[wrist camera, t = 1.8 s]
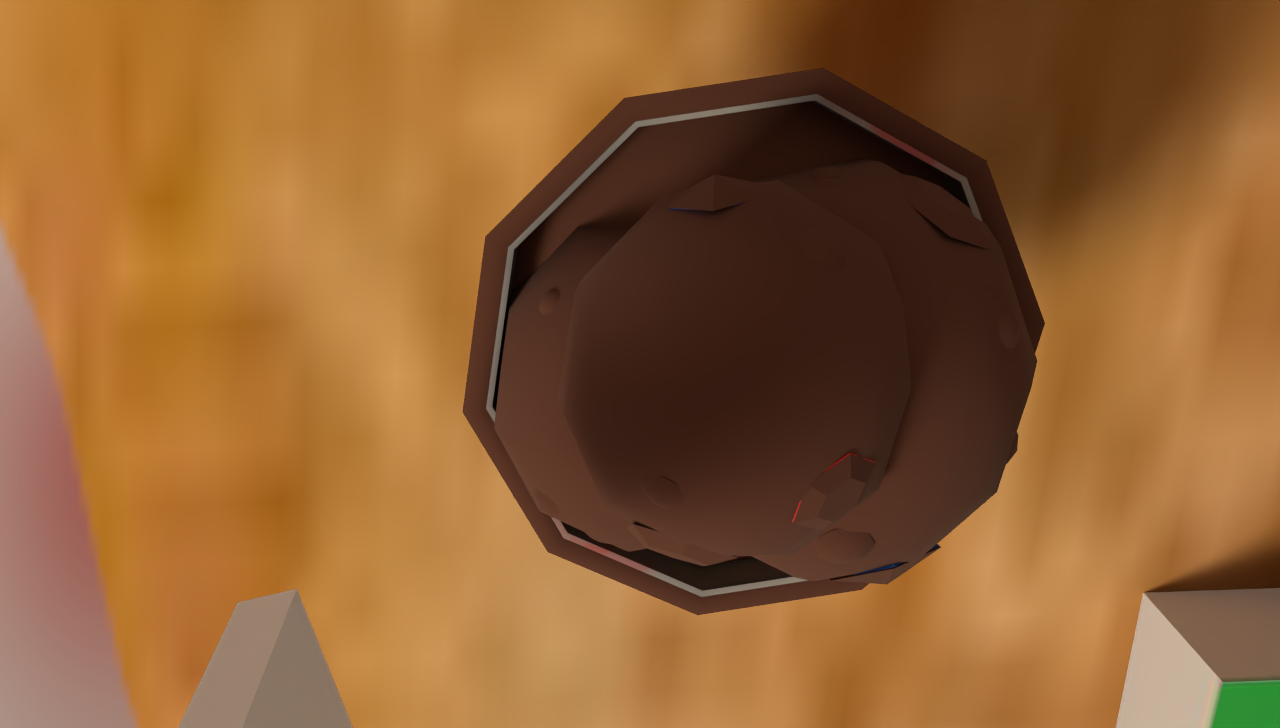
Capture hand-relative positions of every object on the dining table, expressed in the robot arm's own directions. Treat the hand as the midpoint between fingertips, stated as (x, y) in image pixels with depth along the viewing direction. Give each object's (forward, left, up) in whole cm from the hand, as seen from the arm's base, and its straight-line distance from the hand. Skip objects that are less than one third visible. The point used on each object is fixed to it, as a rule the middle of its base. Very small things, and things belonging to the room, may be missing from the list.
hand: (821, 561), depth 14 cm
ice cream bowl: (0, 0, -17) cm, 17 cm away
